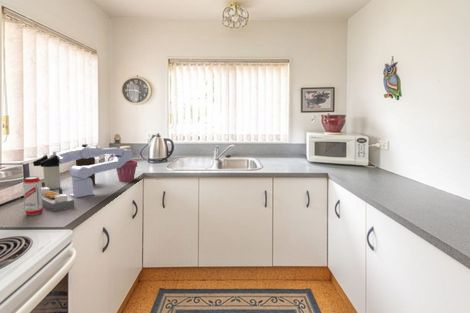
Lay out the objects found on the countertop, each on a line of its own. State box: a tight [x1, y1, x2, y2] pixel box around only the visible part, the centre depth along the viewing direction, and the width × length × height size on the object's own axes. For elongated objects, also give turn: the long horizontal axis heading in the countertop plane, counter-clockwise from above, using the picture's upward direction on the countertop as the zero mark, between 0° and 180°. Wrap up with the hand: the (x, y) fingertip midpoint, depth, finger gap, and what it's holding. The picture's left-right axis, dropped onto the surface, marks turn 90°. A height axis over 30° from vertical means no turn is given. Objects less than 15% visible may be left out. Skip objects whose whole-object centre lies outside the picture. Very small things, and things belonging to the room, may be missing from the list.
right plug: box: [55, 187, 68, 202], centre depth 139 cm, size 4×4×6 cm
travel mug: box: [42, 166, 61, 190], centre depth 176 cm, size 8×8×18 cm
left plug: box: [41, 181, 51, 194], centre depth 151 cm, size 4×4×6 cm
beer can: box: [23, 175, 44, 216], centre depth 131 cm, size 6×6×16 cm
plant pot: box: [115, 159, 138, 183], centre depth 200 cm, size 14×14×13 cm
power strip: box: [42, 190, 76, 213], centre depth 146 cm, size 9×26×4 cm, turn 52°
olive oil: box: [75, 143, 96, 186], centre depth 185 cm, size 11×11×25 cm
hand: (37, 164), depth 143 cm, fingers open, 7 cm apart
